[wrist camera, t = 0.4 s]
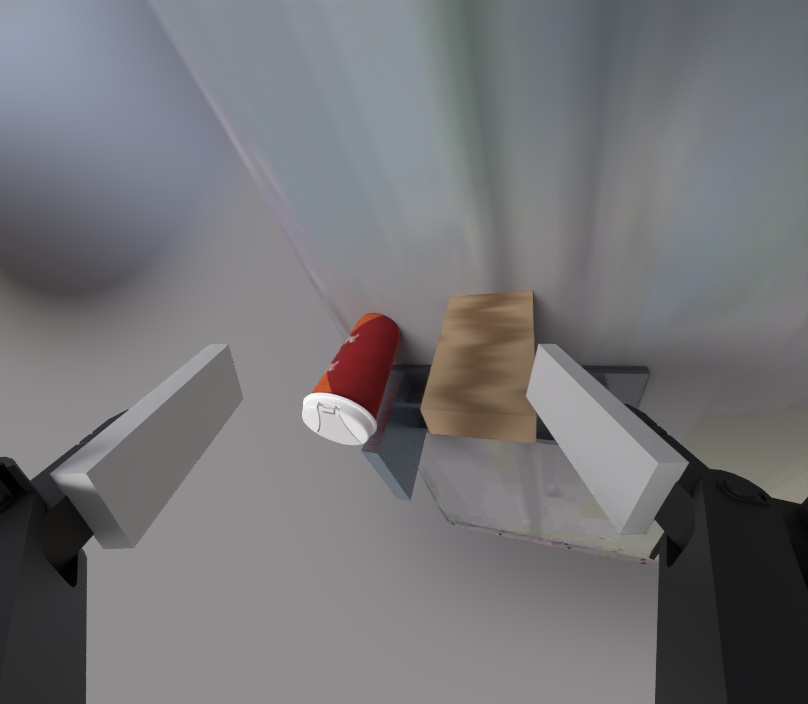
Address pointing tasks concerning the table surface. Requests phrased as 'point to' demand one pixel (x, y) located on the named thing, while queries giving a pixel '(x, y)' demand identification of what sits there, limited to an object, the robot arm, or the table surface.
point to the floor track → (406, 429)
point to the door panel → (483, 369)
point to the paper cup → (354, 383)
